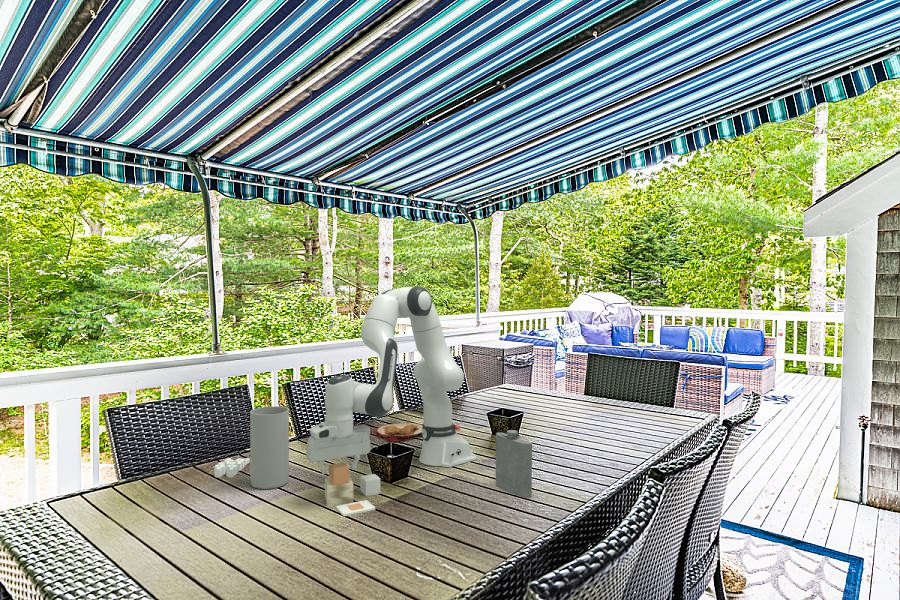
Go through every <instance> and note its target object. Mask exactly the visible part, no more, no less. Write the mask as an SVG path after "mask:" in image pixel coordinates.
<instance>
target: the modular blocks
mask: <svg viewBox="0 0 900 600" xmlns="http://www.w3.org/2000/svg"><path fill="white" fill-rule="evenodd" d="M249 463H250V457H247V458H242V457H240V458H238V457H237V458H236V459H232V458H231V457H230V458H229V457H228V458H226V459H225V460H223V461H220V462H218V463H217V464H215V465H214V466H213V467H214V470H213V471H214V472H213V474H214V475H213V476H214V477H215V478H221V477H223V475H225V474H226V477H227V478H233V477H235V475H237V474H238V471H239V472H240V471H242V470H243V469H244V468H245V467H246V465H248V464H249Z"/></svg>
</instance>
